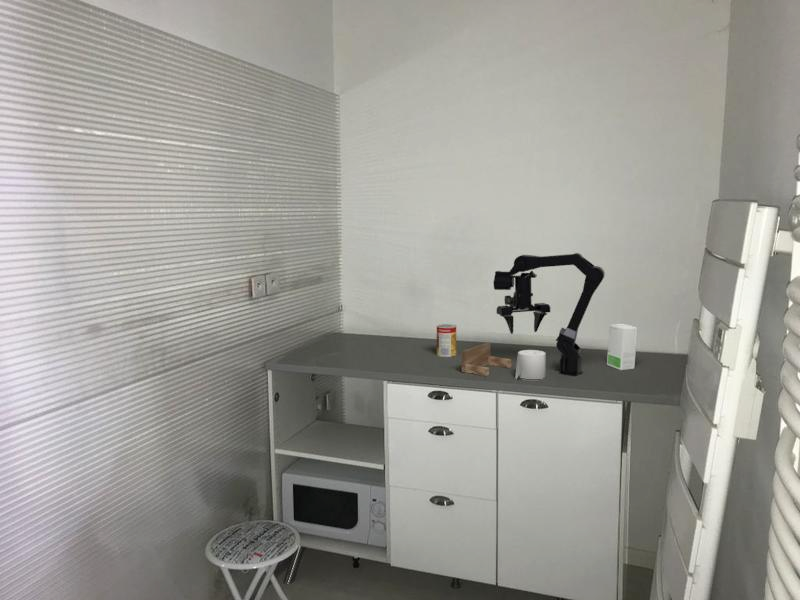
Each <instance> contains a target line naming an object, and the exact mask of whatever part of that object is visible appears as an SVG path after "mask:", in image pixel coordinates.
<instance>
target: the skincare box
mask: <svg viewBox="0 0 800 600" xmlns="http://www.w3.org/2000/svg"><path fill="white" fill-rule="evenodd" d="M608 327H609V328H608V342H607V360H606V365H607V366H609V367H611V368H614V369H617V370H619V371H626V370H633V369H635V366H636V354H637V353H636V352H637V338H638V327H636V326H634V325H630V324H626V323H622V322H621V323H613V324H609V326H608Z"/></svg>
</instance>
